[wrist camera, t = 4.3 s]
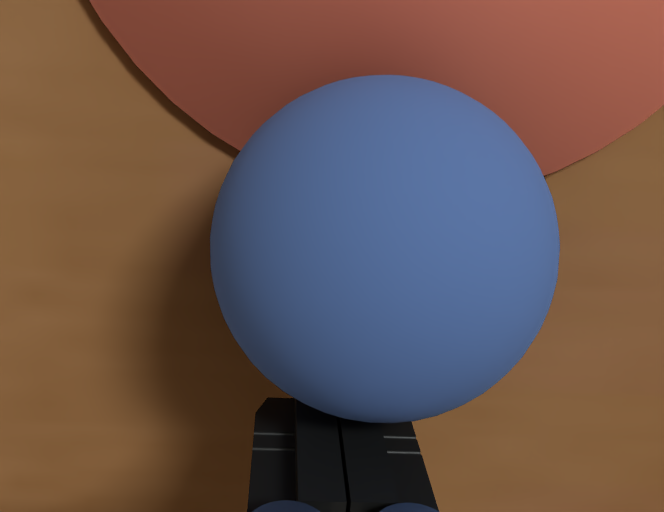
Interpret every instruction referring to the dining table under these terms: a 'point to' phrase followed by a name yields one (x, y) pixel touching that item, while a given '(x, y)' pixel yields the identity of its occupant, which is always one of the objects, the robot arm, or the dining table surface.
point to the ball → (384, 248)
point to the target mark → (408, 59)
